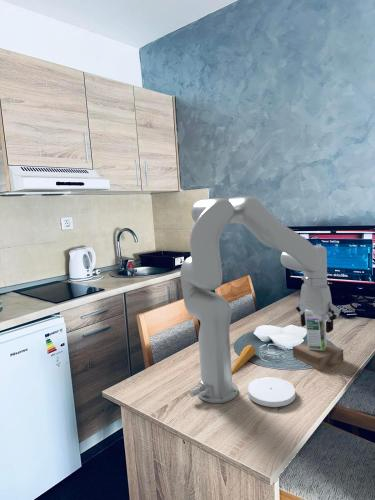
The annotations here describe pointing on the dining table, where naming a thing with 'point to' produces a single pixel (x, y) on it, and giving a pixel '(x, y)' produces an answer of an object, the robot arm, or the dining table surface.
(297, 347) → the walnut block
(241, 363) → the carrot
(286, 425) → the dining table surface
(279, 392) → the plastic lid
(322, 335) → the syrup box
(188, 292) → the robot arm
